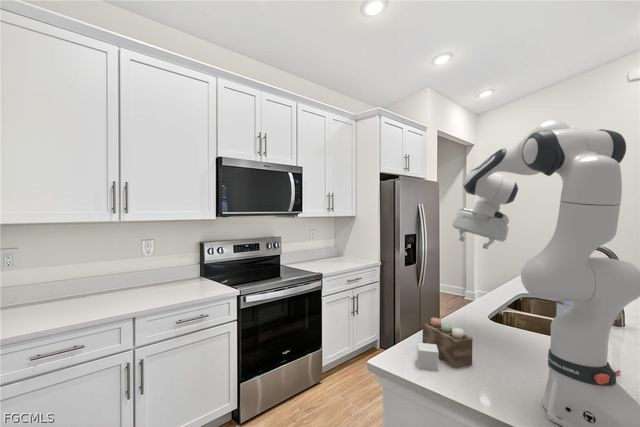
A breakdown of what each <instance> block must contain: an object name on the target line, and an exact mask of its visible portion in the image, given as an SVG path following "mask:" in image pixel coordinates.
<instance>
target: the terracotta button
mask: <svg viewBox="0 0 640 427" xmlns="http://www.w3.org/2000/svg"><path fill="white" fill-rule="evenodd" d="M430 323H431V326H432V327H435V328H439V327H441V323H442V319H441V318H439V317H430Z"/></svg>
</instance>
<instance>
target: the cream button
mask: <svg viewBox="0 0 640 427" xmlns="http://www.w3.org/2000/svg"><path fill="white" fill-rule="evenodd" d="M463 334H464V329H462V328H460V327H452V337H453V338H456V339H463Z"/></svg>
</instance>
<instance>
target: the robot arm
mask: <svg viewBox="0 0 640 427" xmlns="http://www.w3.org/2000/svg"><path fill="white" fill-rule="evenodd" d="M626 153H627V143H626V140H625V137H624V136H623V135H622V134H621V133H619V132H617V131H614V130H609V129H603V128H602V129H601V128H600V129H585V128H584V129H583V128H576V127H575V128H573V127H572V128H571V127H570V126H569V125H568V124H567V123H566V122H563V121H562V120H557V119H556V120H555V119H551V120H546V121H543V122H542V123H540V124H539V125H537V126H536V127H535V128H533V129H532V130H531V131H529V133H528V134H526V136H525V137H523V139H522V140H521V141H520V142H518V143H517V144H514V145H513V146H510V147H506V148H500V149H499V150H497V151H495V152H494V153H493V154H492V155H490V156H489V157H488V158H487V159H486V160H484V161H483V162H482V163H481V164H479V166H477V167H475V168H473V169H472V170H470V171H469V172H468V173H467V175H466V176H465V178H464V181H463V189H464V190H465V192H466V193H467V194H469V195H473V196H476V197H479V198H478V200H477V201H476V203H475V205H474V207H473V209H469V208H465V207H464V208H460V209H458V210H457V212H456V216H455V218H454V219H453V222H452V227H453V228H454V229H456V230H459V231H458V234H459V238H458V241H460V242H462V243H464V241H465V239H466V237H464V236H463V234H465V232H466V233H470V234H473V235H477V236H480V237H484V238H487V239H488V242H487V243H485V242H484V243H483V245H482V248H483V249H485V250H488V249H489V246H491V245H492V244H493V243H494V242H495V241H498V242H501V243H502V242H505V241H506V240H507V237H508V234H509V226H508V225H509V223H510V218H509V217H508V216H507V215H506V214H505V213H503V212H501V211H500V209H501V205H503V206H505V205H507V204H510V203H513V202H514V201H515V199H516V196H517V194H518V191H519V187H518V184H517V182H516V181H514V180H513V179H510V178H508V177H507V176H506V175H505V174H502V173H501V174H500V173H499V172H504V173H510V174H516V175H521V176H535V175H537V174H539V173H542V174H544V175H545V176H547V177H551V176H552V175H553V174H554V173H556V174H558V175H559V176H560V178H561V179H562V186H561V187H562V189H561V192H560V194H561V195H560V201H559V209H558V217H557V220H556V226H555V230H554V233H553V235H552V236H551V239H550V240H549V242H548V243H547V245H546V246H545V247H544V248H543V249H542V250H541V251H540V252H539V253H538V254H537V255H535V256H534V257H532V258H530V259H529V260H528V259H527V261H526V262H525V263H524V265H523V267H522V269H521V273H520V278H521V284H522V285H523V287H524V289H525V291H526V292H527V293H528V294H529V295H531V296H533V297H535V298H539V299H543V300H548V301H553V302H557V301H571V302H573V303H572V305H571V306H570V307H569V309H568V310H567V311H565V312H564V313H562V314H559V315H558V316H555V317H554V318H553V319H552V321H551V323H550V348H549V349H548V355H547V365H548V376H547V377H548V378H547V382H546V387H545V391H544V394H543V397H542V398H541V405H542V406H543V407H544V410H546V412H547V414H546V416H547V419H548V420H550V421H551V422H553V423H555V424H557V425H559V426H561V427H640V403H638V402H637V401H636V400H635V399H634V398H633V396H631V395H630V394H629V393H628V392H627V391H626V390H625V389H624V388H623V387H622V386H621V385H620V384H619V383H618V382H617V378H618V377H620V376H621V372H622V371H621V370H613V368H612V367H611V365H610V363H609V361H608V357H609V356H608V354H609V352H608V351H609V340H610V334H611V333H610V332H611V330H612V326H613V325H614V322H615V320H616V318H617V317H618V316H619V314H620V313H621V312H622V311H623V309H624V308H625V307H627V306H628V305H629V304H630V303H632V302H633V301H635V300H638V299H639V298H640V269H639V268H638V267H637V266H636V265H635V264H633V263H631V262H628V261H624V260H620V259H616V258H610V257H591V255H592V254H593V253H594V251H596V250H597V249H598V248H600V247H601V246H603V245H606V244H607V243H610V242H611V241H612V240H614V238H615V236H616V235H617V231H618V225H619V217H620V210H621V204H622V203H621V202H622V194H623V193H622V192H623V189H622V188H623V187H622V186H623V184H622V183H623V180H622V170H621V166H620V163H621V162H623V159H624V157H625V155H626ZM497 172H498V173H497Z"/></svg>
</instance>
